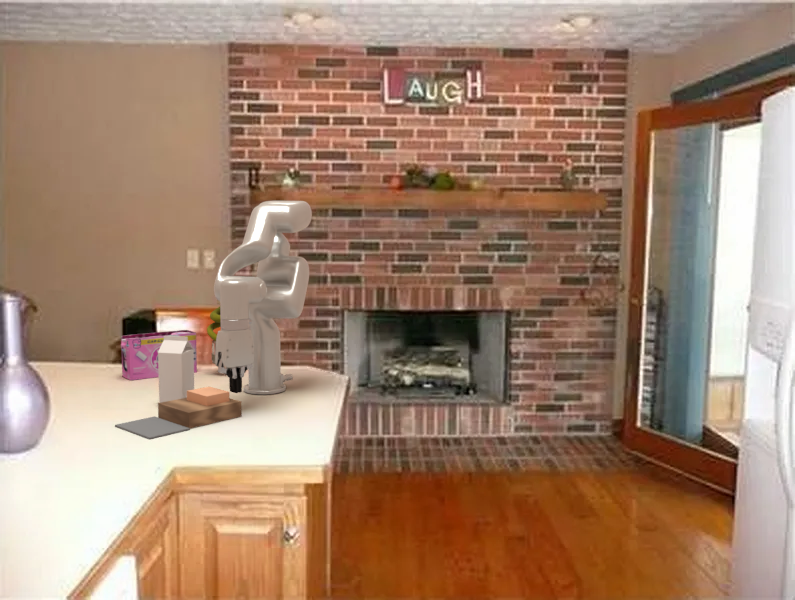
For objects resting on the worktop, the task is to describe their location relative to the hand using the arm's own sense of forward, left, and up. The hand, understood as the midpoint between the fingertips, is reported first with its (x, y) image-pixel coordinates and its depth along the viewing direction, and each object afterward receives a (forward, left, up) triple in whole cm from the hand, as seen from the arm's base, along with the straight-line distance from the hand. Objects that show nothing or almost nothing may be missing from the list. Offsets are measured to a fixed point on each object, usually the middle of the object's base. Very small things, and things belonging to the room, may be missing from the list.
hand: (235, 391), depth 208 cm
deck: (+11, 0, -5) cm, 12 cm away
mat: (+25, 0, -5) cm, 26 cm away
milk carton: (+7, -17, -5) cm, 19 cm away
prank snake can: (-26, -41, -5) cm, 49 cm away
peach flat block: (+9, 0, -1) cm, 9 cm away
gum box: (-10, -55, -5) cm, 56 cm away
